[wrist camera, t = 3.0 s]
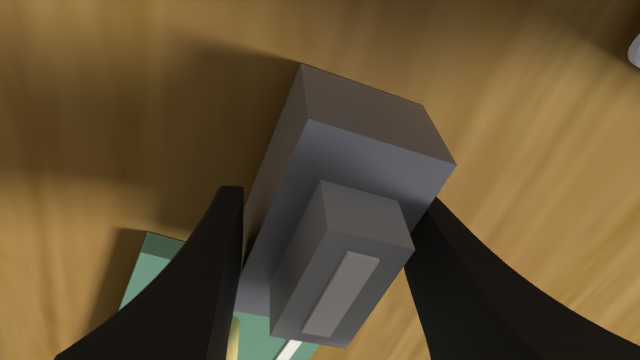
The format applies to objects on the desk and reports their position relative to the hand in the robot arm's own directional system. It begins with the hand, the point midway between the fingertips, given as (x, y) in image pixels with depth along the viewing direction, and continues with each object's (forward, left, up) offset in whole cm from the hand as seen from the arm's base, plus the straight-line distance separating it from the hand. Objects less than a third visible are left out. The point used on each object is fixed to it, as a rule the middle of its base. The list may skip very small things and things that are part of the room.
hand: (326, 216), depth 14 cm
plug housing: (0, 0, -2) cm, 2 cm away
